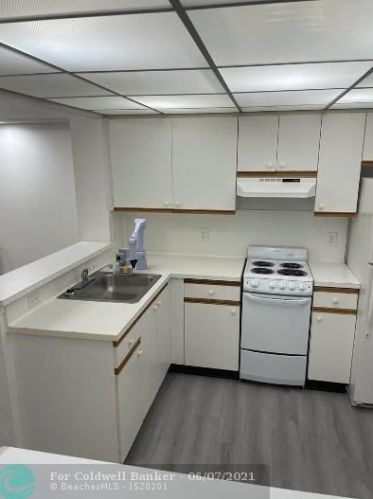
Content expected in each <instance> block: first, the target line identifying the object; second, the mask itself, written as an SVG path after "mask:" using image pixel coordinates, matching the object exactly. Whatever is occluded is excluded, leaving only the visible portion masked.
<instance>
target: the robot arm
mask: <svg viewBox="0 0 373 499" xmlns="http://www.w3.org/2000/svg"><path fill="white" fill-rule="evenodd" d="M147 221H148V220H147V219H146V218H134V221H133V224H134V231H132V232H131V236H130V238H128V248H130V258H128V259H126V261H127V262H128V261H130V263H131V264H130V265H131V268H133V270H134V269H135V270H147V269H148V264H147V263H148V262H147V261H148V260H147V249H146V248H144V241H145V239H144V238H145V229H147V227H148V224H147V223H148V222H147Z"/></svg>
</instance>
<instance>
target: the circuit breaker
mask: <svg viewBox="0 0 373 499" xmlns="http://www.w3.org/2000/svg"><path fill="white" fill-rule="evenodd" d="M128 258H130V247H126V246H125V247H121V248H118V253H115V262H116V263H118V265H120V266H123V267H128V266H129V265H131V263H130V261H128V262H127V261H126V259H128Z"/></svg>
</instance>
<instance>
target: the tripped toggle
mask: <svg viewBox="0 0 373 499" xmlns="http://www.w3.org/2000/svg"><path fill="white" fill-rule="evenodd" d="M122 268H123V272H124V273H128V268H129V267H128V266H123V267H122Z"/></svg>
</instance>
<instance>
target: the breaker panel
mask: <svg viewBox="0 0 373 499" xmlns="http://www.w3.org/2000/svg"><path fill="white" fill-rule="evenodd" d="M115 266H116V267H115V268H114V269H113V272H112V276H113V277H114V276H118V277H119V276H133V273H134V272H133V271H134V269H133V268H132V267H128V273H124V272H123V267H121V265H119V264H116V265H115Z"/></svg>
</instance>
